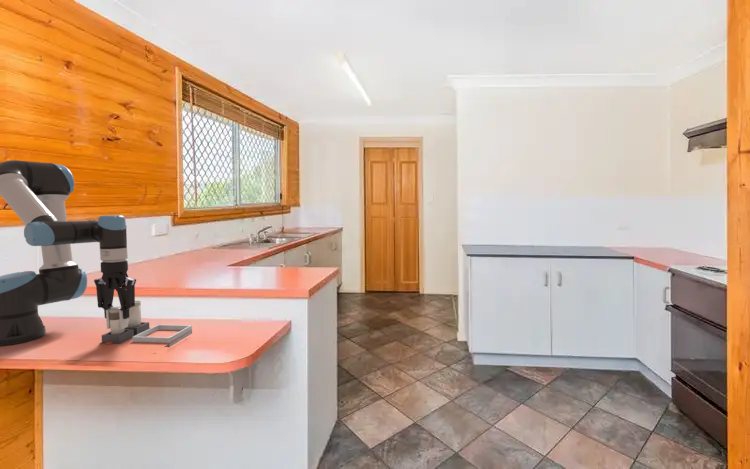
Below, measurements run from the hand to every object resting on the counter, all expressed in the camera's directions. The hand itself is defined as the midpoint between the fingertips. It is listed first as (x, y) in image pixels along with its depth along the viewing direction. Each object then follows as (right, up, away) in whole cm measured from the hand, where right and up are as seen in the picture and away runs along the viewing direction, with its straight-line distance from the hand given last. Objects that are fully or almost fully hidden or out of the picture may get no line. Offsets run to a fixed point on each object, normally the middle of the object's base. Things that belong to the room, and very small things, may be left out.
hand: (117, 327), depth 124 cm
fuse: (+1, -4, +8) cm, 9 cm away
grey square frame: (+13, -5, +5) cm, 15 cm away
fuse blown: (0, -4, 0) cm, 4 cm away
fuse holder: (0, -5, +4) cm, 7 cm away
